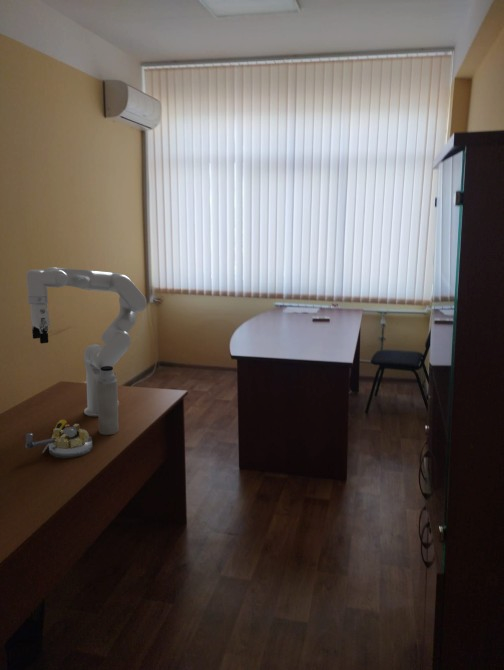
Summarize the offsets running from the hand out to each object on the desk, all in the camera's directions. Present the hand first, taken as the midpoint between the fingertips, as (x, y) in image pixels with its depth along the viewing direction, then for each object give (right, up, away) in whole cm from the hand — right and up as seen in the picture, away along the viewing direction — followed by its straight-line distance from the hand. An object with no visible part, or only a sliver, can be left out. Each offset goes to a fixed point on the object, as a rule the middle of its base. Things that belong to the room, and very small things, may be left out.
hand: (40, 340), depth 224 cm
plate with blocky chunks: (+17, -42, -15) cm, 47 cm away
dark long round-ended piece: (+14, -39, -19) cm, 46 cm away
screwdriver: (+9, -40, -8) cm, 42 cm away
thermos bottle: (+28, -38, +2) cm, 47 cm away
